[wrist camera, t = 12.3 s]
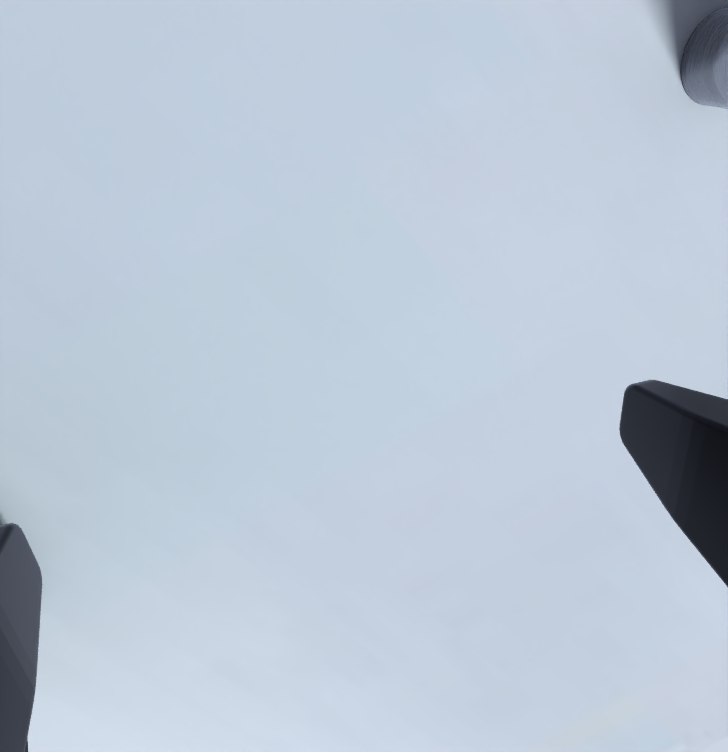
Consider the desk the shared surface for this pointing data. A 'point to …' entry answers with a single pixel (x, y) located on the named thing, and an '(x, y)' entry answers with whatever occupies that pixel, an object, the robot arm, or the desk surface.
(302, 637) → the desk surface
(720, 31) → the spacer posts
